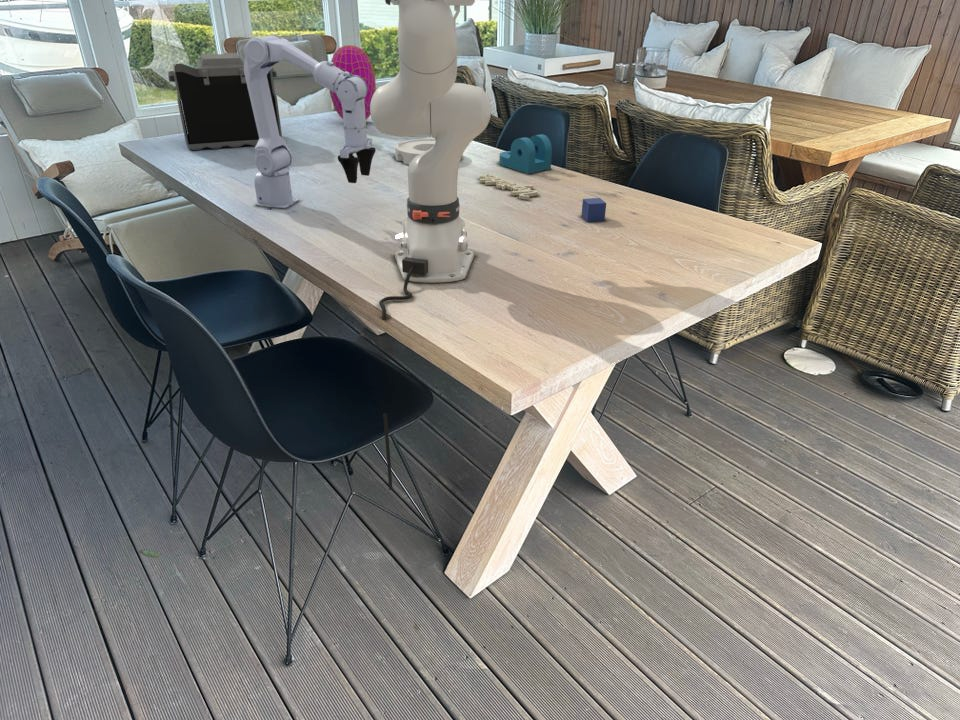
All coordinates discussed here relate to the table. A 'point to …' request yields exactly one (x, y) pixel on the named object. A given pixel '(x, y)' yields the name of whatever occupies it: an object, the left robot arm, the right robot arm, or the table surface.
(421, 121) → the right robot arm
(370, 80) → the decorative egg
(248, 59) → the left robot arm
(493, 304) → the table surface
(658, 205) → the table surface
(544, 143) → the teal clevis bracket
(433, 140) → the ashtray
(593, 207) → the block
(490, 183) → the decorative sign
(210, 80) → the electronic device
